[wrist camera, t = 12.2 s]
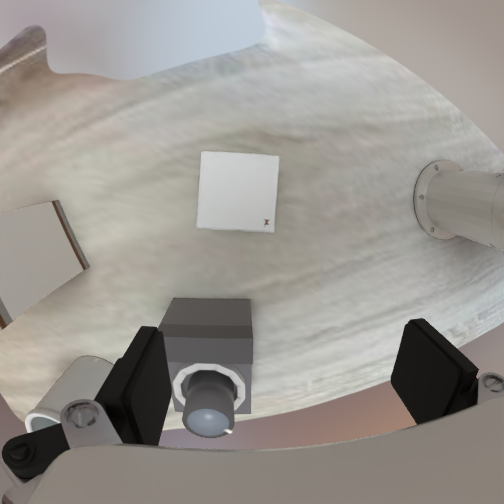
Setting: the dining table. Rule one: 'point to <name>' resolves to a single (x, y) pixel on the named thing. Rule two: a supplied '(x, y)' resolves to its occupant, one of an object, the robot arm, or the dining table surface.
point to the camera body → (209, 345)
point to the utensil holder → (69, 391)
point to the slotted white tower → (35, 257)
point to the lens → (209, 404)
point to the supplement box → (237, 191)
